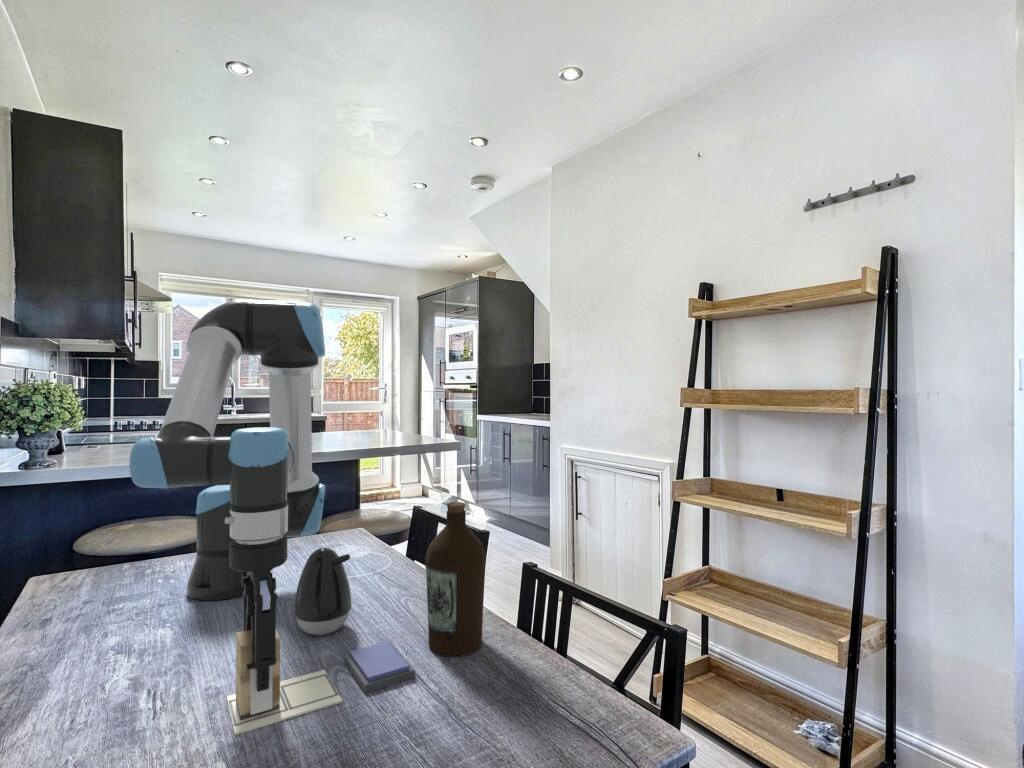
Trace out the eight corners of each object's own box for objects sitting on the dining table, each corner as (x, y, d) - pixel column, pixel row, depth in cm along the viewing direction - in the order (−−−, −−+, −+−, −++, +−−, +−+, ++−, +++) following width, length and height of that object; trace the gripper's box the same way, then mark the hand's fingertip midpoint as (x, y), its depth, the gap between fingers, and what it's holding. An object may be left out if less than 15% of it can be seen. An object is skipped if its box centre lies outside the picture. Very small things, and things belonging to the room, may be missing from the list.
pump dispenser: (334, 644, 97) (335, 558, 97) (282, 638, 99) (282, 554, 99) (362, 620, 107) (362, 542, 107) (313, 615, 109) (314, 538, 109)
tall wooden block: (273, 691, 81) (273, 624, 81) (279, 708, 77) (280, 637, 77) (235, 702, 79) (236, 632, 79) (240, 720, 75) (240, 646, 75)
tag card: (226, 698, 80) (226, 695, 80) (324, 671, 88) (324, 669, 88) (234, 735, 72) (234, 732, 72) (342, 702, 80) (342, 699, 80)
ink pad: (343, 661, 91) (343, 650, 91) (390, 648, 95) (390, 638, 95) (365, 693, 82) (365, 681, 82) (415, 677, 86) (415, 666, 86)
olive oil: (453, 625, 105) (454, 495, 105) (497, 641, 99) (498, 502, 98) (412, 647, 96) (413, 504, 96) (457, 665, 90) (458, 513, 90)
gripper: (222, 526, 84) (222, 678, 84) (237, 558, 68) (236, 744, 68) (275, 519, 88) (274, 665, 88) (300, 549, 72) (299, 724, 73)
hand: (258, 699), depth 78 cm, fingers closed on tall wooden block, 5 cm apart
